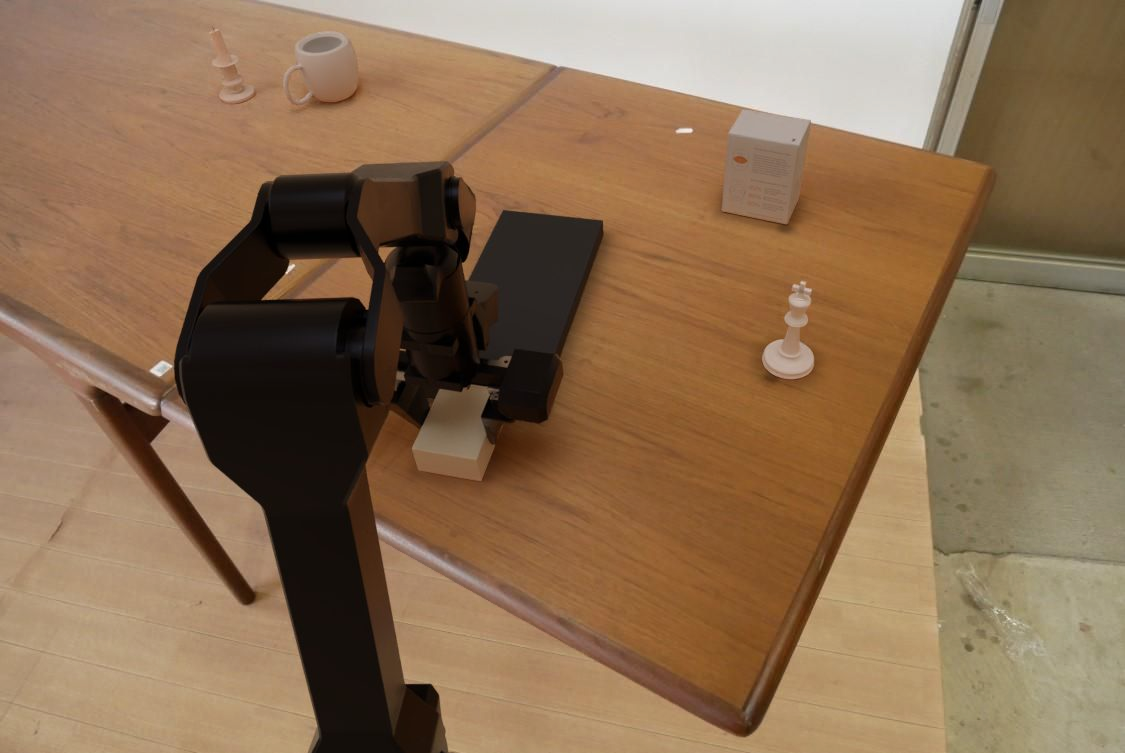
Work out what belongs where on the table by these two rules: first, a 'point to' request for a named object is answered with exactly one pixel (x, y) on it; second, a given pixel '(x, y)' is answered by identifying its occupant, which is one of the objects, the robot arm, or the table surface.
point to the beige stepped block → (455, 435)
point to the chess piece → (791, 340)
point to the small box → (764, 165)
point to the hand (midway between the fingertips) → (462, 435)
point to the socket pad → (535, 279)
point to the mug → (324, 67)
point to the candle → (229, 72)
